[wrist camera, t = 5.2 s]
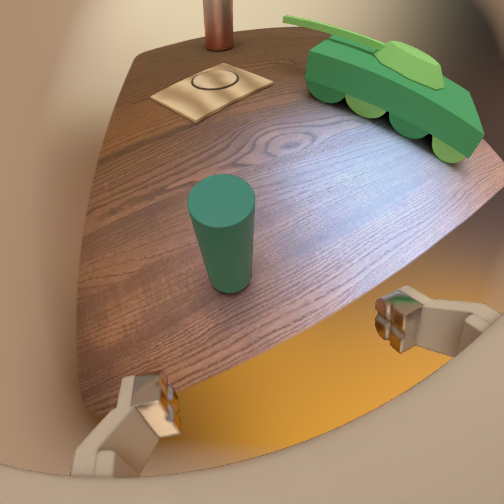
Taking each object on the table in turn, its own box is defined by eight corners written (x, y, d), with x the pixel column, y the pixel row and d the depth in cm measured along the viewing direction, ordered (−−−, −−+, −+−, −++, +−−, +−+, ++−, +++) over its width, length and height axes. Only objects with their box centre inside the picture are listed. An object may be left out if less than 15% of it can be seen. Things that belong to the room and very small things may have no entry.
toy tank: (302, 6, 36) (475, 77, 29) (296, 55, 47) (452, 123, 40) (260, 18, 29) (495, 116, 21) (257, 84, 39) (458, 173, 32)
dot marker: (230, 305, 23) (219, 240, 13) (201, 277, 24) (173, 200, 14) (259, 276, 24) (269, 197, 15) (230, 251, 25) (222, 164, 16)
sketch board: (196, 123, 34) (195, 119, 33) (150, 99, 38) (150, 95, 37) (273, 84, 40) (273, 80, 39) (223, 65, 43) (223, 62, 43)
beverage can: (203, 45, 49) (200, -10, 36) (229, 42, 50) (228, -13, 37) (209, 53, 47) (205, -8, 33) (236, 49, 48) (236, -11, 34)
